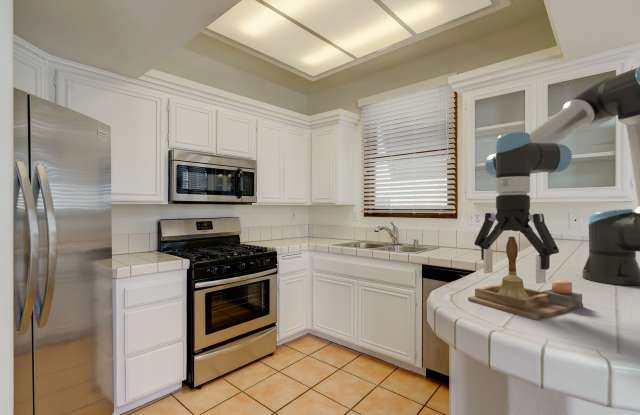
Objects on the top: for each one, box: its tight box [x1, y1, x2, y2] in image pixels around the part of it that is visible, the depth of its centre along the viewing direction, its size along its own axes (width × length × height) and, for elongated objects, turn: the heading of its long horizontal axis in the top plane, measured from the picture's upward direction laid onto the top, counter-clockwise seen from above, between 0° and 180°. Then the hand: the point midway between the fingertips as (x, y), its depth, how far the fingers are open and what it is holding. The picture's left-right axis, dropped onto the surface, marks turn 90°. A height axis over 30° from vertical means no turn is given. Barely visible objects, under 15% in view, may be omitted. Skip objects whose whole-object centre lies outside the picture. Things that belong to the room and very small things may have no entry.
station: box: [467, 283, 584, 321], centre depth 83 cm, size 20×17×3 cm
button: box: [551, 279, 573, 294], centre depth 82 cm, size 4×4×2 cm
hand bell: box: [498, 236, 529, 299], centre depth 84 cm, size 8×8×16 cm
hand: (512, 277), depth 84 cm, fingers open, 13 cm apart
